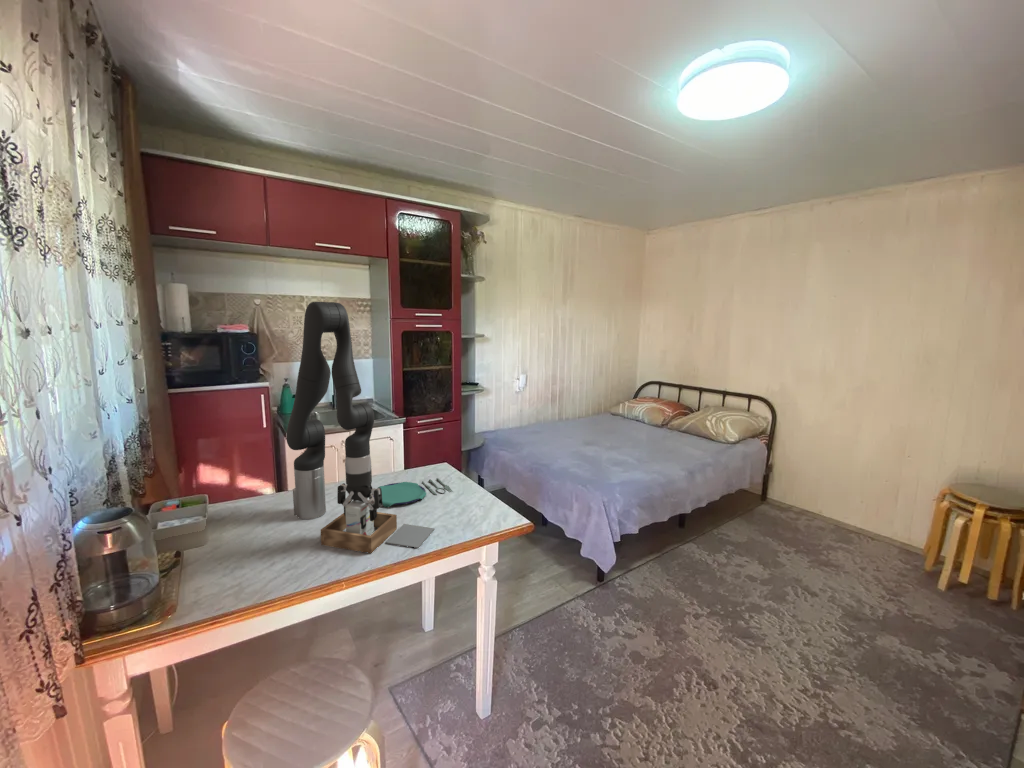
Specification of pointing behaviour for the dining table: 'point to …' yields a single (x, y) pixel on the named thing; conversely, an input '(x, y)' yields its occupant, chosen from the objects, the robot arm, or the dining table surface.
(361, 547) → the wooden tray
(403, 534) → the rubber mat
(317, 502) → the robot arm
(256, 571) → the dining table surface
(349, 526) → the ink box
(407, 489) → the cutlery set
